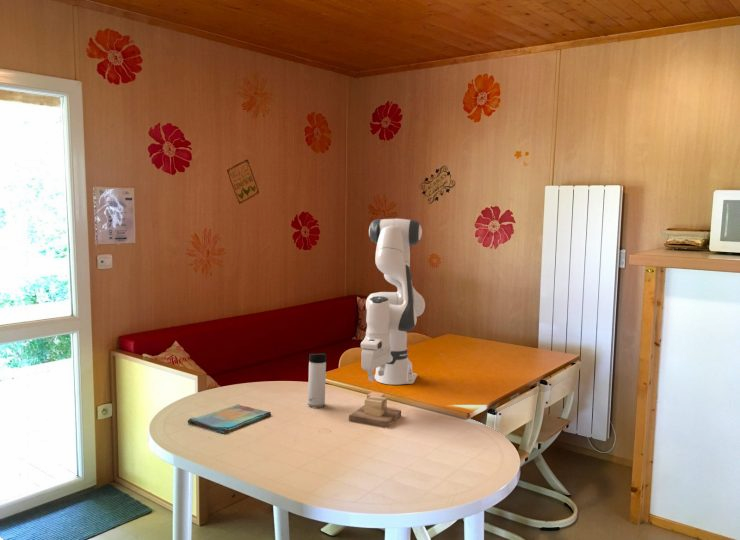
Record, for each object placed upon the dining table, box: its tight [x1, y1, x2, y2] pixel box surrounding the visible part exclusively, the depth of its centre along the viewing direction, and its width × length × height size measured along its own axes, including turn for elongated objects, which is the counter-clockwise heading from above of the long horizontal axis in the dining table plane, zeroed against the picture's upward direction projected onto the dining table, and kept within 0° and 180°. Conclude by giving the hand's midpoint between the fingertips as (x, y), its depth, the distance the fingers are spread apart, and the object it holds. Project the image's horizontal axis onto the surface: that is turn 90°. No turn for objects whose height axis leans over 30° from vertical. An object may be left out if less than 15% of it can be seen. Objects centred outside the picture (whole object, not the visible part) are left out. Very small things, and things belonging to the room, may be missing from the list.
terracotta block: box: [366, 391, 386, 399], centre depth 221 cm, size 5×5×5 cm
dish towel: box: [187, 403, 272, 435], centre depth 202 cm, size 17×23×2 cm
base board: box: [348, 404, 402, 428], centre depth 208 cm, size 14×14×2 cm
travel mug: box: [307, 352, 327, 408], centre depth 220 cm, size 6×7×20 cm
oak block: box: [364, 396, 388, 416], centre depth 208 cm, size 6×6×5 cm
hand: (376, 378), depth 220 cm, fingers open, 8 cm apart
